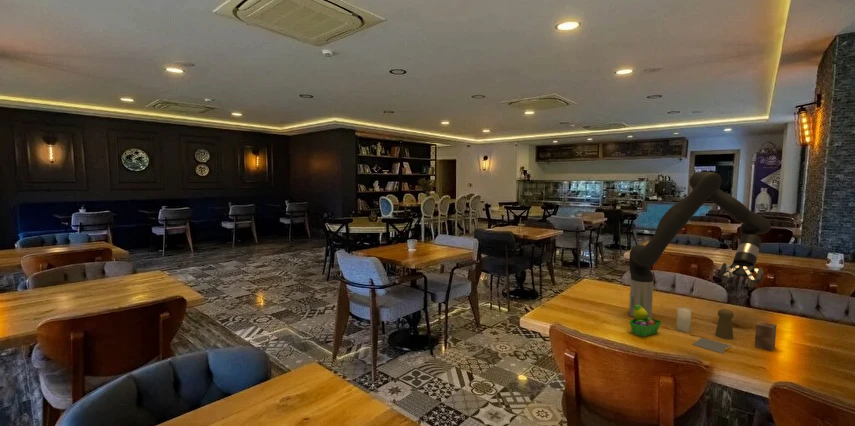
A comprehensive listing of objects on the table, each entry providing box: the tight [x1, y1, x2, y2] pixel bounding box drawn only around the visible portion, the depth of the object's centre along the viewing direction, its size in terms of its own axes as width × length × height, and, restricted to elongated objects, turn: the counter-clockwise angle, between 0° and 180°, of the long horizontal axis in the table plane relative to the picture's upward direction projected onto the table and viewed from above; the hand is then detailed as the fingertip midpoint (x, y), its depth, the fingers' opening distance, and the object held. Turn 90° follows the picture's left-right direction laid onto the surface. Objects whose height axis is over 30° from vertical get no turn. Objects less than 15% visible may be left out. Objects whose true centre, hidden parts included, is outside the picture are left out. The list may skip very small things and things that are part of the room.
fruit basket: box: [628, 305, 662, 338], centre depth 166 cm, size 11×9×11 cm
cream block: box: [675, 306, 692, 333], centre depth 168 cm, size 5×5×9 cm
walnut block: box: [754, 321, 777, 352], centre depth 151 cm, size 5×5×9 cm
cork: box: [714, 308, 734, 340], centre depth 161 cm, size 6×6×11 cm
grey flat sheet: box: [691, 337, 732, 354], centre depth 153 cm, size 10×10×1 cm
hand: (736, 286), depth 167 cm, fingers open, 8 cm apart
